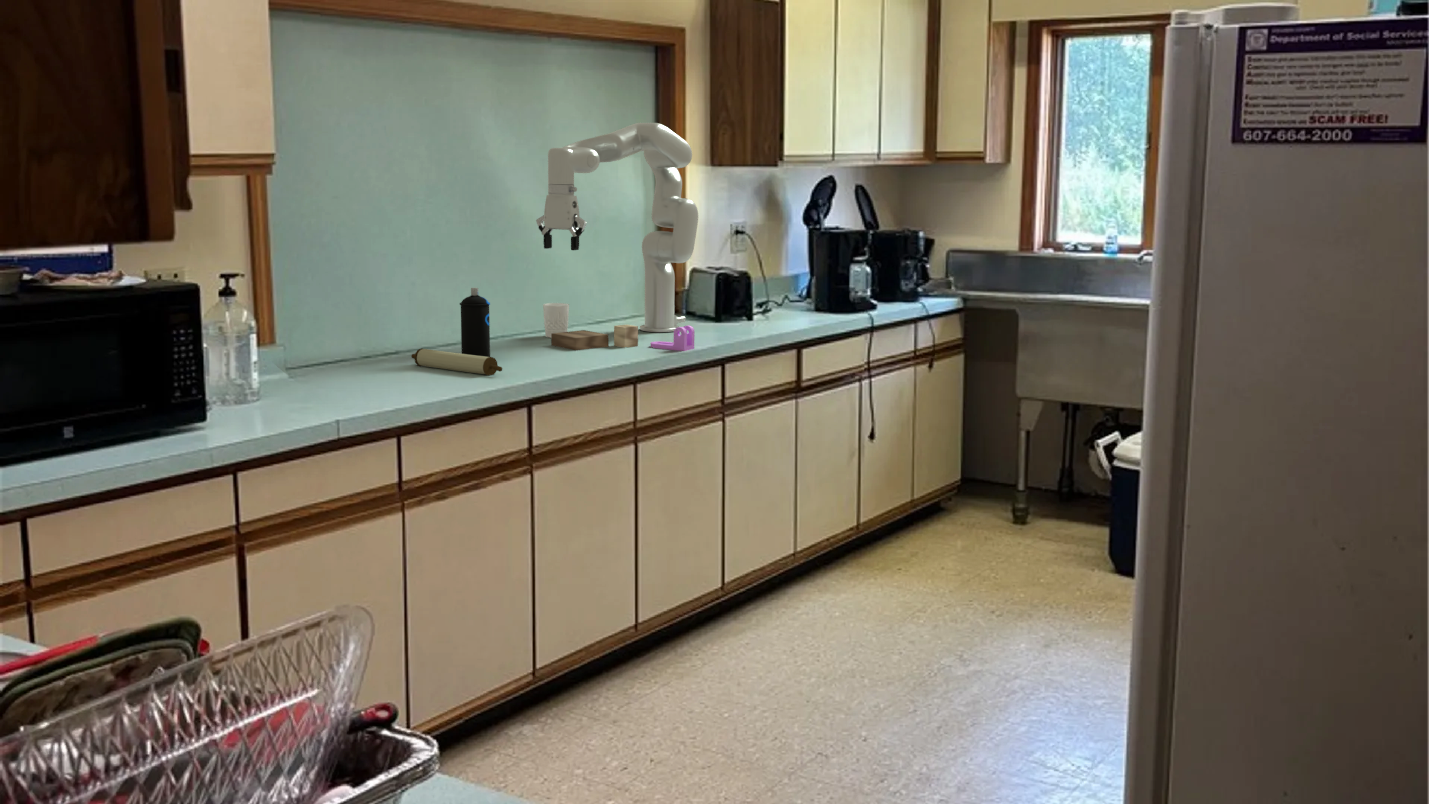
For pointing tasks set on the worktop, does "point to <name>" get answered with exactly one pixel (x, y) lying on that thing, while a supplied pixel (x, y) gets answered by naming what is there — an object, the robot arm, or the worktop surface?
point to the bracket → (678, 340)
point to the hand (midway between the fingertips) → (561, 249)
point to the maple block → (625, 336)
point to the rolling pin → (456, 361)
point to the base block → (580, 340)
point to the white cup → (555, 318)
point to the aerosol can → (475, 325)
